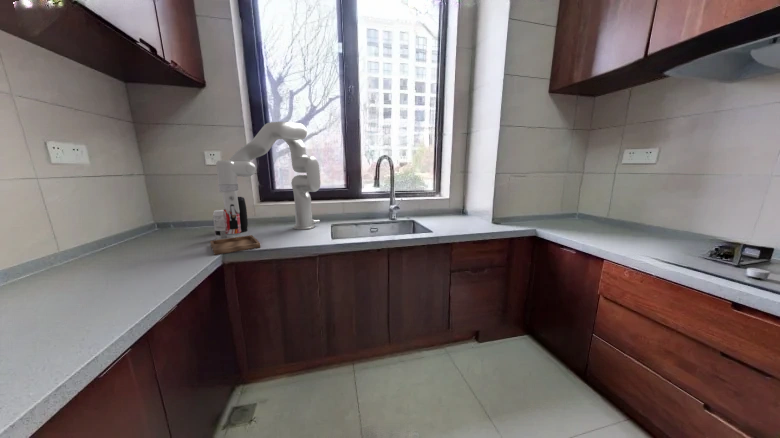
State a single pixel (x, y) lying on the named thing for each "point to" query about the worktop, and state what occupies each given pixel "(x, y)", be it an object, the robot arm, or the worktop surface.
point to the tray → (234, 244)
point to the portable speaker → (243, 214)
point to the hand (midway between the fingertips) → (233, 227)
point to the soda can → (227, 226)
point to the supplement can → (220, 225)
